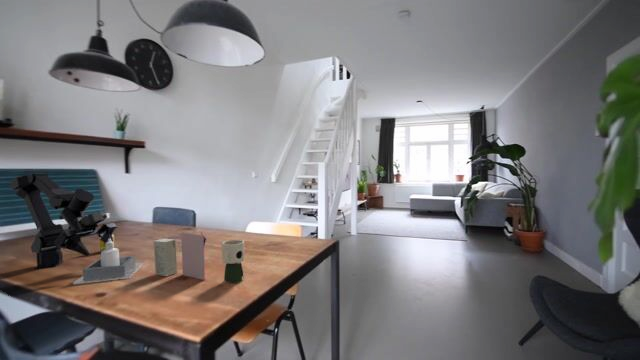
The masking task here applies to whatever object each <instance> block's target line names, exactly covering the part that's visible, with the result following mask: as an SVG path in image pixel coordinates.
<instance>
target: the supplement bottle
mask: <svg viewBox="0 0 640 360" xmlns="http://www.w3.org/2000/svg"><path fill="white" fill-rule="evenodd" d="M112 238H113V242H114V243H115V235H114V234H113V233H112ZM100 239H101V237H99V250H100V253H101V252H102V251H104V250H105V249H106V246H105V243H104V242H103V241H101V240H100ZM114 248H116V247H115V245H114Z"/></svg>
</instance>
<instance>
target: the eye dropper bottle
mask: <svg viewBox="0 0 640 360" xmlns="http://www.w3.org/2000/svg"><path fill="white" fill-rule="evenodd" d="M105 246H106V249H105V250H104V251H102V252H100V259H101V267H106V266H117V265H120V261H119V257H120V250H119V248H118V247H117V248H116V247H115V248H114V246H115V241H114V242H112V241H111V239H108V242H106V243H105Z"/></svg>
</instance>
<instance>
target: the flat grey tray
mask: <svg viewBox="0 0 640 360" xmlns="http://www.w3.org/2000/svg"><path fill="white" fill-rule="evenodd" d="M119 261H120V265H117V266H106V267H101V258H97V259H96V260H95V261H93V262H91V264H89V265H87V266H86V267H84V268H83V269H82V276H81V277H79V278H78V279H76V280H75V281H73V282H72V285H73V286H75V285H83V284H90V283H91V284H92V283H101V282H109V281H110V282H111V280H112V281H119V280H118V279H121V280H127V279H128V280H129V278H130V279H131V278H132V277H133V276H134V275H135V274H136V272H137V271H139V269H140V268H141V267H142V266H143V265H144V262H136V255H131V256H129V255H128V256H119ZM131 276H132V277H131Z"/></svg>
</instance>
